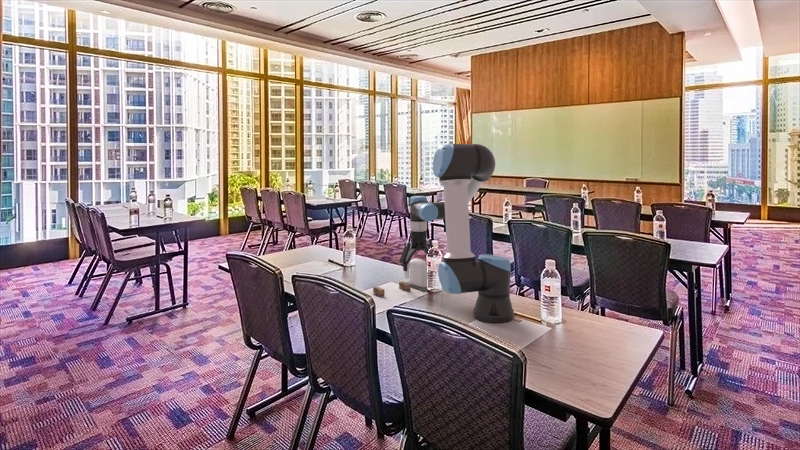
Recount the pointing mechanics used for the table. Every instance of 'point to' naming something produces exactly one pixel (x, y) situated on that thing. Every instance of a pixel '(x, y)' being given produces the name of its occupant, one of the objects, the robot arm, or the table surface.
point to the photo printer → (418, 272)
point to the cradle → (402, 285)
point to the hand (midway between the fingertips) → (418, 275)
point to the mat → (418, 287)
